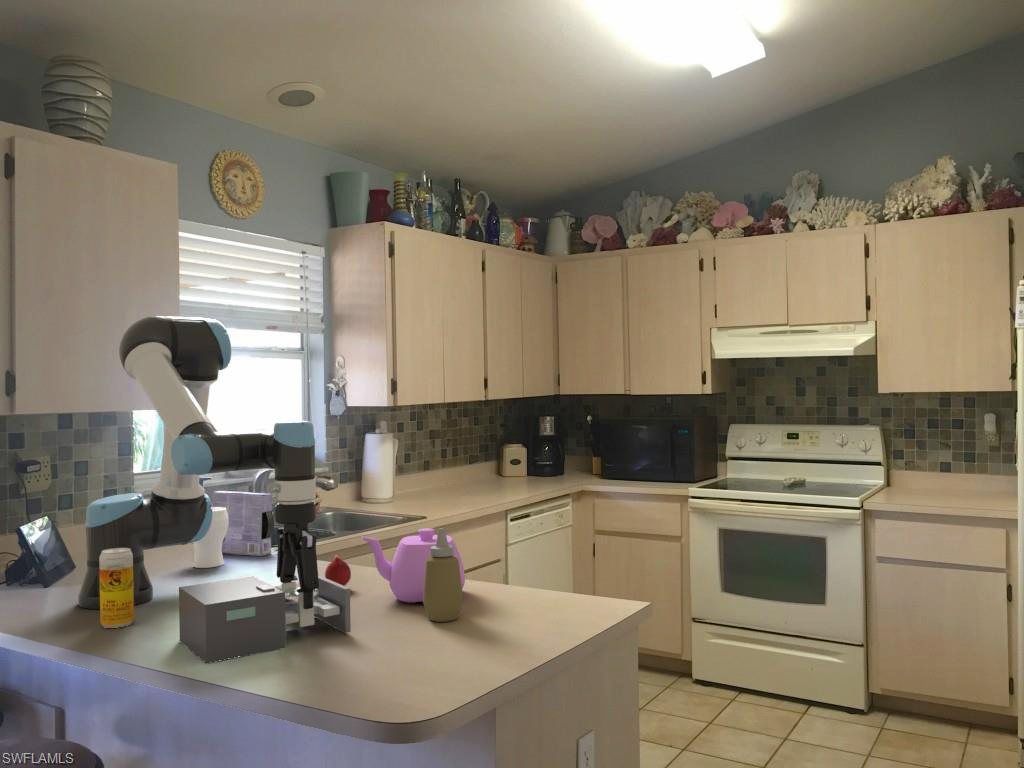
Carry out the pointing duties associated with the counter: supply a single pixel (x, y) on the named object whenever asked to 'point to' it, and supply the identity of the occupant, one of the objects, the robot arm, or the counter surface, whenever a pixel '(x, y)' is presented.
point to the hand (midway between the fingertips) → (297, 620)
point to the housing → (232, 618)
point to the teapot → (410, 564)
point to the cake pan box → (246, 522)
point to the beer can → (116, 587)
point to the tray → (328, 606)
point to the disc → (296, 596)
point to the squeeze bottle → (442, 582)
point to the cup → (212, 541)
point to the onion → (338, 571)
